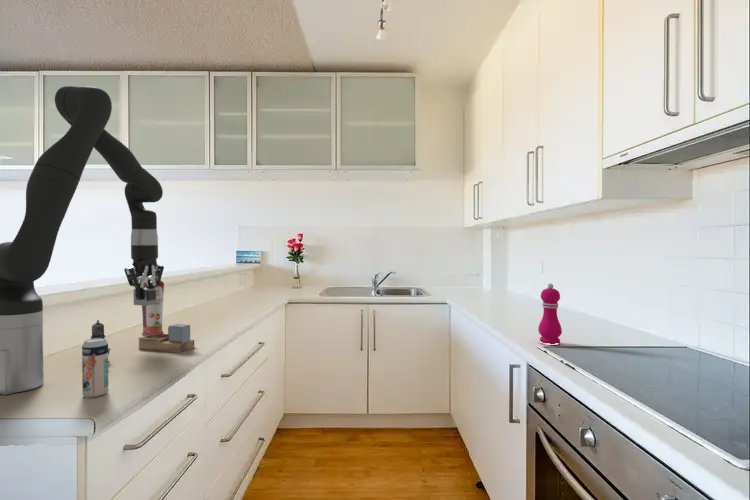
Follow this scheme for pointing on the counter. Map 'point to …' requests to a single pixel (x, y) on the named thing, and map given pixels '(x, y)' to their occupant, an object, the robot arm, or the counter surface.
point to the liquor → (153, 312)
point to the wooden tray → (163, 343)
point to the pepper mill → (550, 316)
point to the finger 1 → (146, 297)
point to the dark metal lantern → (98, 332)
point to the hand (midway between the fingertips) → (145, 298)
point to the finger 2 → (179, 333)
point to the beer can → (95, 367)
